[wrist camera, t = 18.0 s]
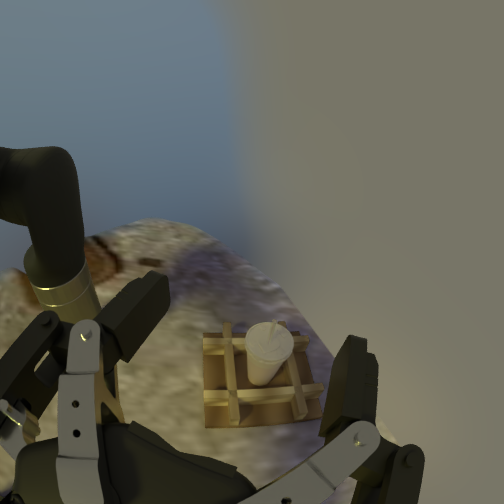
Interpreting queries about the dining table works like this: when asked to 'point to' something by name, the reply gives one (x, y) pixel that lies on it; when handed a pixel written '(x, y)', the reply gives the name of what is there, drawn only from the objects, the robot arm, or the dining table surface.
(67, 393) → the robot arm
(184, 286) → the dining table surface
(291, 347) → the smoothie
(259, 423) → the wooden grid tray
